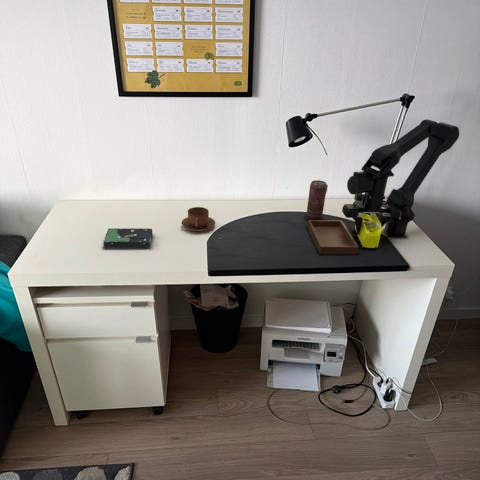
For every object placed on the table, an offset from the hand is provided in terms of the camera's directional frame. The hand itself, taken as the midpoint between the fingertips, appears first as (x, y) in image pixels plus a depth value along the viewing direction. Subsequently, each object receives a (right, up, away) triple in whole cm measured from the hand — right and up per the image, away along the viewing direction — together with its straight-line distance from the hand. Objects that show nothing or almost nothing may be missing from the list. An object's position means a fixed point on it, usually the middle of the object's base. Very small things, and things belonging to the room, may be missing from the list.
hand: (366, 234), depth 153 cm
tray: (-13, -2, 0) cm, 13 cm away
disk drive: (-81, -4, -6) cm, 82 cm away
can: (-16, +9, +15) cm, 23 cm away
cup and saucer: (-59, +3, +5) cm, 59 cm away
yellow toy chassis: (0, -2, +1) cm, 2 cm away
